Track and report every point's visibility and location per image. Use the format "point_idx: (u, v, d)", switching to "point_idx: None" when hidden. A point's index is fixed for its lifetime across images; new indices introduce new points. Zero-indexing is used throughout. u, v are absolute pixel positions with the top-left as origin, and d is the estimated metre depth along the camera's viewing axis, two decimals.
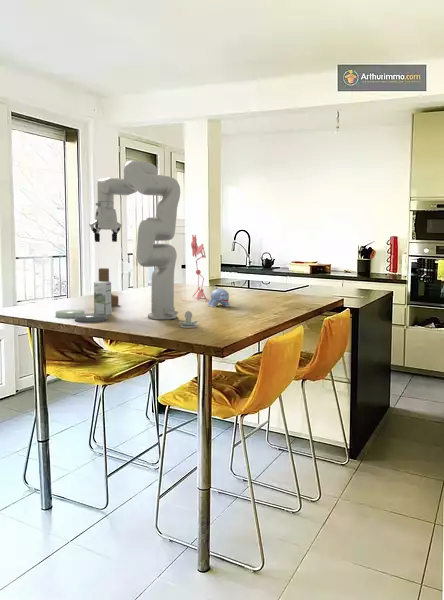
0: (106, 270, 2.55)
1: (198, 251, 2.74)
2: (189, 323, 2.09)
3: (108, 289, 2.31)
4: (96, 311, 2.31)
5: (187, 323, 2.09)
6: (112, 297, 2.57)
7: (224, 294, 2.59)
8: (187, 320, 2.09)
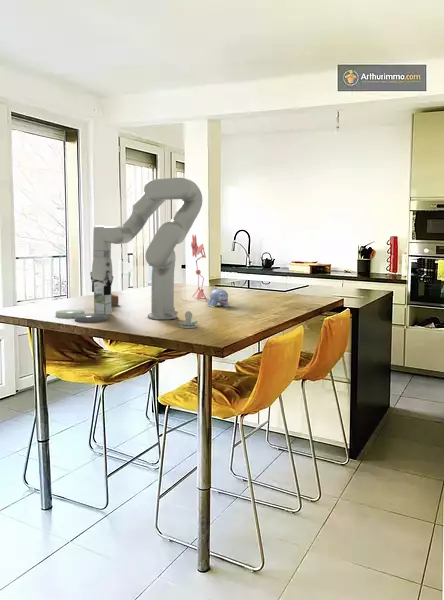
0: None
1: (198, 251, 2.74)
2: (189, 323, 2.09)
3: None
4: (96, 311, 2.31)
5: (187, 323, 2.09)
6: (112, 297, 2.57)
7: (223, 294, 2.59)
8: (187, 320, 2.08)
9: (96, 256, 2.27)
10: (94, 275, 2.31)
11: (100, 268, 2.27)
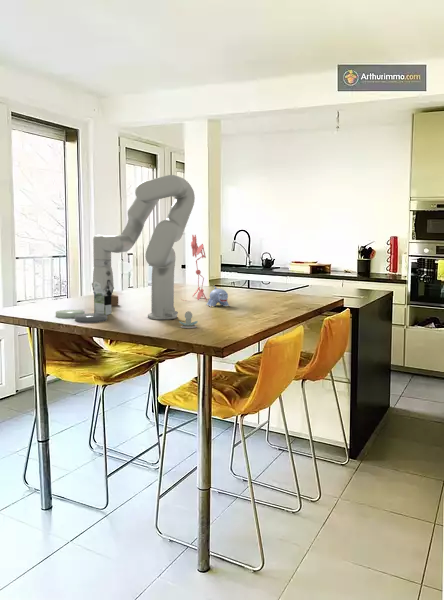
0: None
1: (198, 251, 2.74)
2: (189, 323, 2.09)
3: None
4: (96, 311, 2.31)
5: (187, 323, 2.08)
6: (112, 297, 2.57)
7: (223, 294, 2.59)
8: (187, 320, 2.08)
9: (97, 265, 2.27)
10: None
11: (101, 277, 2.28)
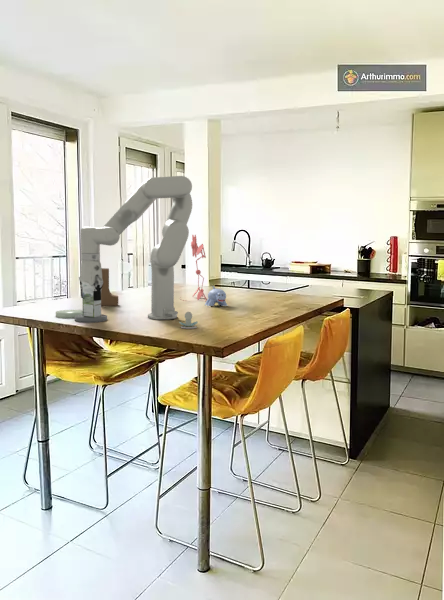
0: (106, 270, 2.55)
1: (198, 251, 2.74)
2: (189, 324, 2.08)
3: None
4: (84, 313, 2.17)
5: (187, 324, 2.07)
6: (112, 297, 2.57)
7: (221, 294, 2.59)
8: (187, 321, 2.07)
9: (84, 259, 2.13)
10: (83, 280, 2.17)
11: (89, 272, 2.13)
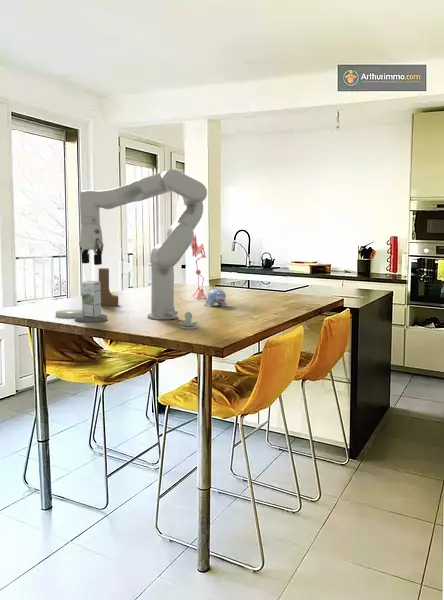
0: (106, 270, 2.55)
1: (198, 251, 2.74)
2: (189, 324, 2.07)
3: (97, 289, 2.17)
4: (84, 313, 2.17)
5: (187, 324, 2.07)
6: (112, 297, 2.57)
7: (220, 294, 2.59)
8: (187, 321, 2.07)
9: (84, 223, 2.11)
10: (83, 245, 2.15)
11: (89, 236, 2.11)
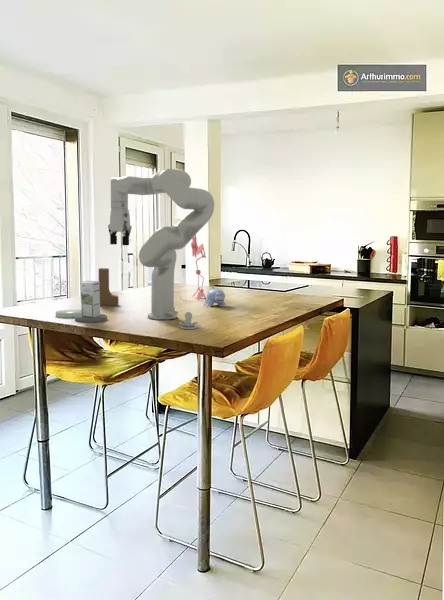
0: (106, 270, 2.55)
1: (198, 251, 2.74)
2: (189, 324, 2.07)
3: (96, 289, 2.17)
4: (83, 313, 2.17)
5: (187, 324, 2.07)
6: (112, 297, 2.57)
7: (219, 294, 2.59)
8: (187, 321, 2.07)
9: (114, 207, 2.32)
10: (112, 227, 2.37)
11: (118, 219, 2.32)
